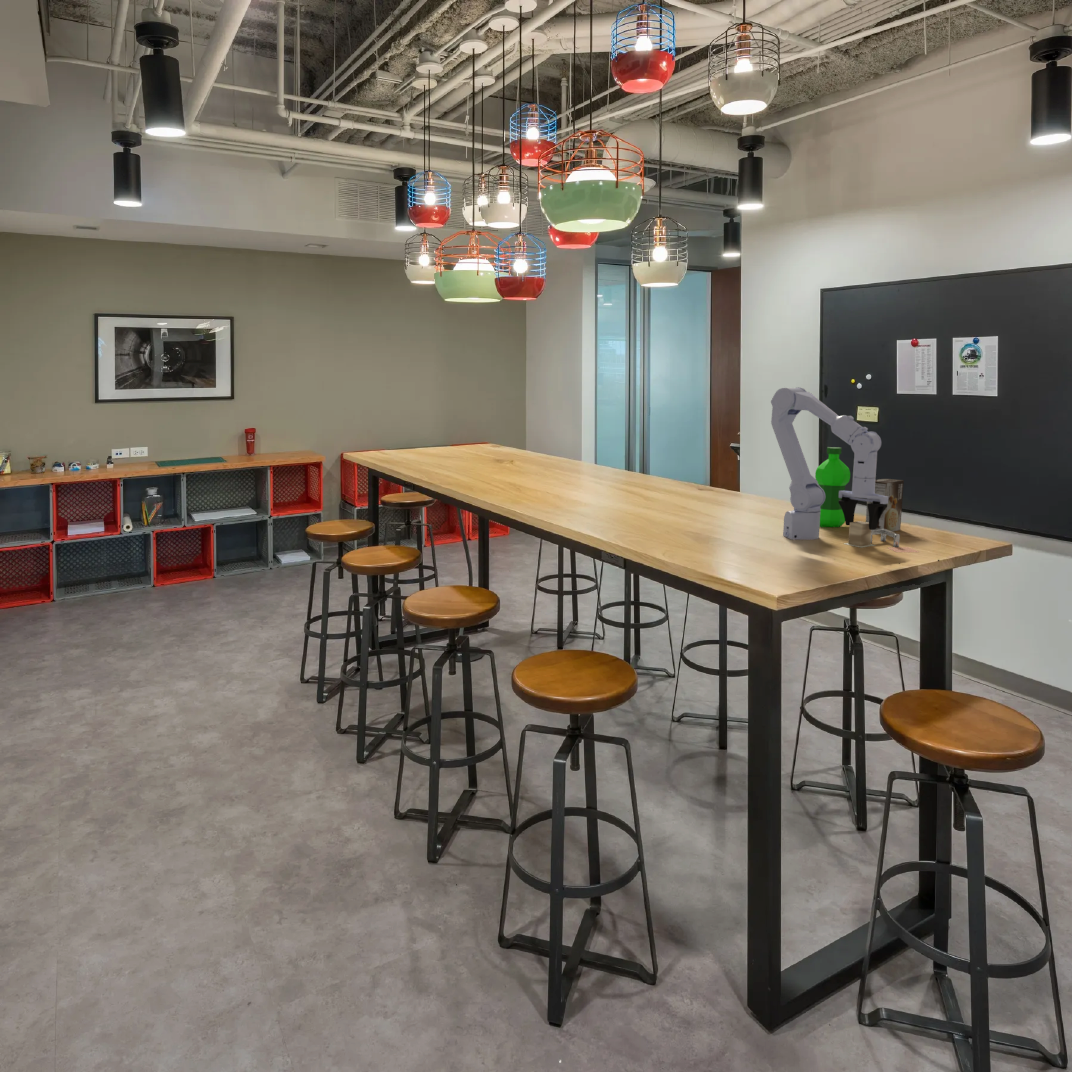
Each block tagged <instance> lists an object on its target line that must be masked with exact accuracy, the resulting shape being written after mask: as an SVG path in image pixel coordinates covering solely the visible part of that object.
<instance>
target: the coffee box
mask: <svg viewBox="0 0 1072 1072" xmlns="http://www.w3.org/2000/svg"><path fill="white" fill-rule="evenodd" d="M904 483H905V480H904V479H893V478H892V479H891V478H881V479H880V478H879V479H875V494H879V495H883V496H888V504H887V507H886V509H885V510H884V512H883V513H882V515H881V517H880V519H879V522H878V525H877V528H876V529H873V530H879V529H887V530H889V531H891V532H896V531H901V527H902V525H901V524H902V512H903V511H902V509H903V497H904ZM870 500H871V499H870ZM869 503H873V502H868V501H866V505H867V504H869ZM865 511H866V513H865V522H868V523H869V511H868V507H867V506H866V510H865Z"/></svg>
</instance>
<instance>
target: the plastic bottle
mask: <svg viewBox="0 0 1072 1072" xmlns="http://www.w3.org/2000/svg"><path fill="white" fill-rule="evenodd" d="M826 454H827V455H828V458H827V459H826V460H824V461H823V462H822V463H821V464H820V465H818V466H817V468H816V470H815V476H814V478H815V479H816V480H817V482H818V485H819V486H820V487H821V488H822V489H823V490H824V492H825V501H824V503H823V504H822V505H821V507H820V508H821V511H820V527H819V528H841V527H842V526H843V525H844V524H846V523H845V518H844V514H843V511H842V508H841V506H840V504H839V503H838V501H839V500H841V499H842V498H839V491H843V490H844V491H846V485H847V484H848V483H850V479H851V471H850V468H849V467H848V466H847V465H846V464H845V463H844V462H843V461H842V460H841V459H840V455H842V447H839V446H838V447H835V446H833V447H831V446H827V447H826Z"/></svg>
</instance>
